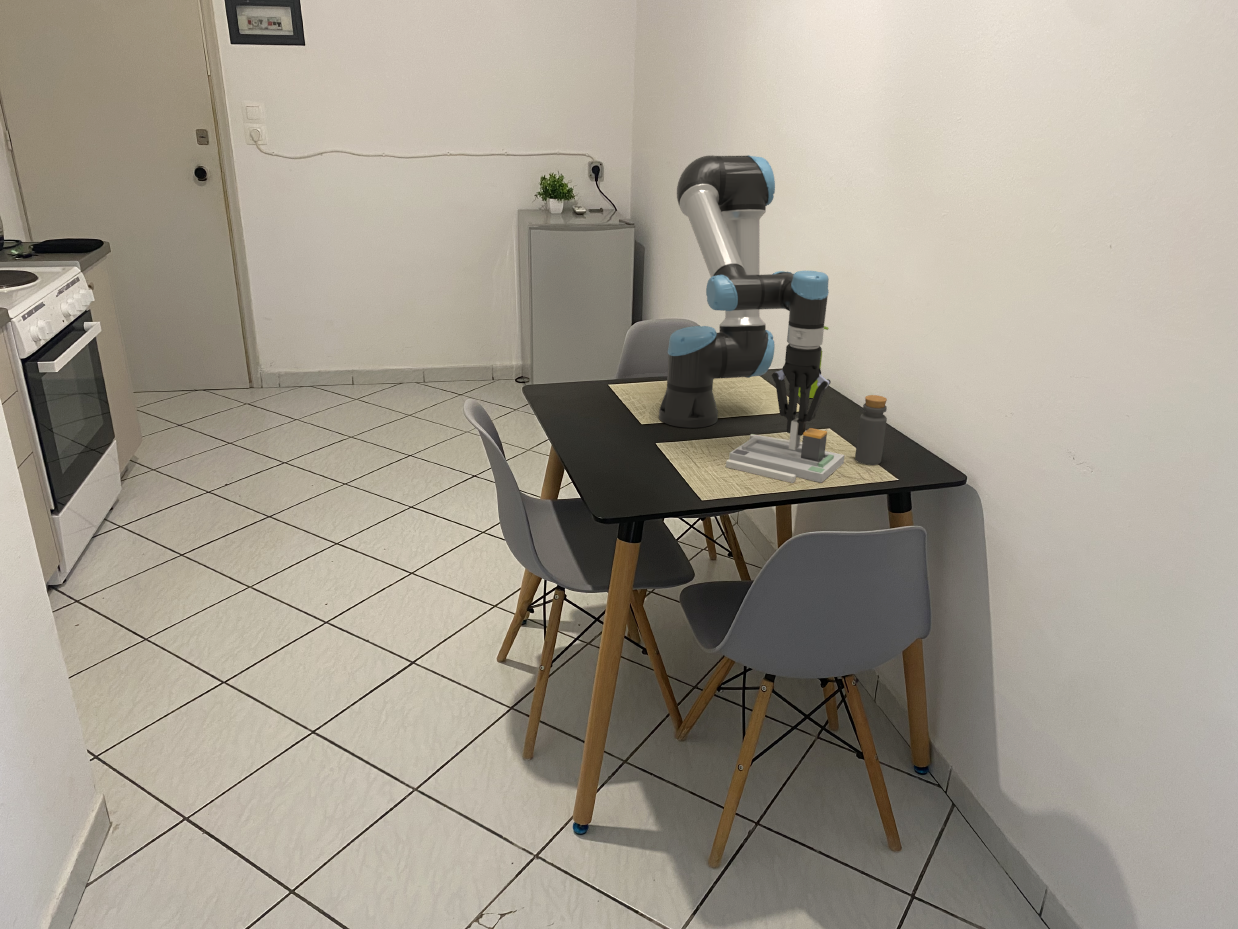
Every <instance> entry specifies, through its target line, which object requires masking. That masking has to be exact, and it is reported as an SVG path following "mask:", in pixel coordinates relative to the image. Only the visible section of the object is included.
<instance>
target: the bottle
mask: <svg viewBox="0 0 1238 929" xmlns="http://www.w3.org/2000/svg"><path fill="white" fill-rule="evenodd" d="M864 399H865V400H864V401H865V403H863V405H862V410H863V411H864V412H863V413H861V415H860V416H859V423H858V430H857V439H856V447H855V455H854V460H855V462H858V463H859V464H863V465H869V466H874V465H875V466H876V465H879V464H881V462H882V458H883V450H884V443H885V435H886V427H887V423H888V422H887V419H888V418H887V416H885V414H884V413H886V412H887V410H888V409H887V405H886V403H887V401H888V399H887V397H885V396H883V395H876V394H875V395H874V394H872V395H871V394H870V395H866V396H865V397H864Z"/></svg>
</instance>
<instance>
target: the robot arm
mask: <svg viewBox="0 0 1238 929" xmlns="http://www.w3.org/2000/svg"><path fill="white" fill-rule="evenodd" d="M775 192H776V179H775V174H774V171H773V168H772V166H771V164H770V163H769V161H768V160H767V159H766V158H764V157H762V156H755V155H703V156H700V157H699V158H696V159H695V160H693V161H691V162H690V163H689V164H688V165H687V166H686V167H685V169H683V171H682V172H681V175H680V177H679V179H678V183H677V187H676V199H677V203H678V207H679V208H680V211H681V213H682V214H683V215H684V216H686V217H687V218H688V221H689V223H690V225H691V228H692V231H693V234H694V236H695V239H696V241H697V244H698V248H699V250H700V252H701V255H702V258H703V259H704V263H705V265H706V268H707V270H708V273H709V276H710V277H709V279H708V281H707V283H706V290H705V293H706V295H705V296H706V301H707V304H708V306H709V307H710V308H711V309H712V310H713V311H725V312H724V313H725V315H724V316H725V318H724V319H723V321H722V322H721V323H720V324H719V332H717V330H716V329H715V328H714V327H712V326H708V325H702V326H700V325H695V326H687V327H683V328H682V327H681V328H680V329H677V330H675V331H673V332H672V333H671V334H670V337H669V342H668V348H667V375H666V376H667V377H666V378H667V379H666V382H667V383H666V390H665V393H664V396H663V398H662V401H661V403H660V407H659V408H658V409H659V410H658V412H659V413H658V418H659V420H660V421H661V422H662V423H664V424H666V425H669V426H673V427H678V428H688V429H692V428H693V429H695V428H696V429H697V428H705V427H709V426H712V425H714V424H716V423H717V422H718V418H719V416H718V415H719V412H718V411H719V410H718V408H717V404H716V400H715V397H714V391H713V390H714V389H713V388H714V385H713V384H714V380H716V379H717V380H718V379H734V378H735V379H738V378H747V379H750V378H752V377H760V376H762V375H765V374H766V373H767V372H768V371H769V368H770V367H771V365H772V363H773V360H774V356H775V345H776V344H775V340H774V335H773V333H772V332H771V331H770V330H768V329H766V323H765V322H764V321H763V319H762V318H761V317H760V310H782V309H783V310H787V311H789V313H788V314H789V315H788V317H789V318H788V326H787V338H786V342H787V343H788V344H787V345H786V347H785V359H784V360H785V362H784V364H783V367H782V368H781V370H777V371H774V372H773V373H772V374H771V377H772V380H773V382H774V383H775V388H776V396H777V405H778V410H779V415H780V416H781V417H785V419H786V420H787V423H786V433H787V434H789V440H790V441H789V449H792V450H796V449H797V448H798V447H800V442H801V436H802V437H803V433H804V432H805V431H806V427H807V422H811V421H813V420H814V419H815V418H816V415H817V413H818V410H819V409H820V408H819V407H820V404H821V402H822V400H823V396H824V394H825V391H826V389H827V388H828V387H829V386H830V385H831V380H830V379H829V378H827V379H826V378H825V377H824V376H823V375H822V370H821V369H820V361H821V362H822V360H821V352H822V353H823V348H822V347H821V346H822V345H823V343H824V332H825V329H824V326H825V322H826V321H825V320H826V312H827V304H828V296H829V290H830V289H829V279H830V278H829V276H828V275H827V274H826V273H825V272H823V271H816V270H799V271H796V272H794V273H793V272H791V271H784V270H779V271H774V272H773V273H771V274H769V273H767V274H760V220H761V218H762V217H763V216H765V214H766V211H767V210H766V209H767V206H769V205H771V204H772V202H773V201H774V199H775V198H774V194H775ZM785 378H786V380H787V382H788V383H789V384H788V392H789V393H788V394H787V386H786V380H785ZM816 380H818V383H817V386H818V388H817V390H816V392H815V395H814V397H813V399H812V400H811V403H809V402H810V399H809V395H810V390H811V386H812V385H813V383H814V382H815V381H816ZM799 388H800V393H801V394H800V397H798V393H799ZM798 400H799V401H798ZM798 402H799V406H798ZM809 405H810V406H809ZM798 407H799V408H798ZM797 412H798V414H797Z"/></svg>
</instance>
